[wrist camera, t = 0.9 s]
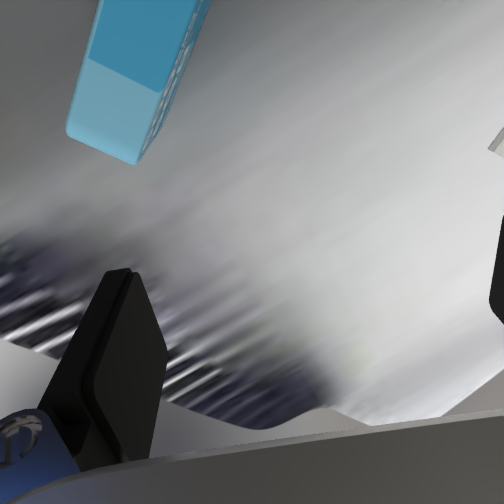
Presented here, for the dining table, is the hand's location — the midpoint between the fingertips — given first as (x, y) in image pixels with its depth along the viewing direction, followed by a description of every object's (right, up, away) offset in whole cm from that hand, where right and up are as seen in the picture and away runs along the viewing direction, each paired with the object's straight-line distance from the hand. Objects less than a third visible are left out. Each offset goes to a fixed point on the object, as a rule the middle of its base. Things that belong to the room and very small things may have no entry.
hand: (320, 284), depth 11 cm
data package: (-9, +17, +22) cm, 30 cm away
